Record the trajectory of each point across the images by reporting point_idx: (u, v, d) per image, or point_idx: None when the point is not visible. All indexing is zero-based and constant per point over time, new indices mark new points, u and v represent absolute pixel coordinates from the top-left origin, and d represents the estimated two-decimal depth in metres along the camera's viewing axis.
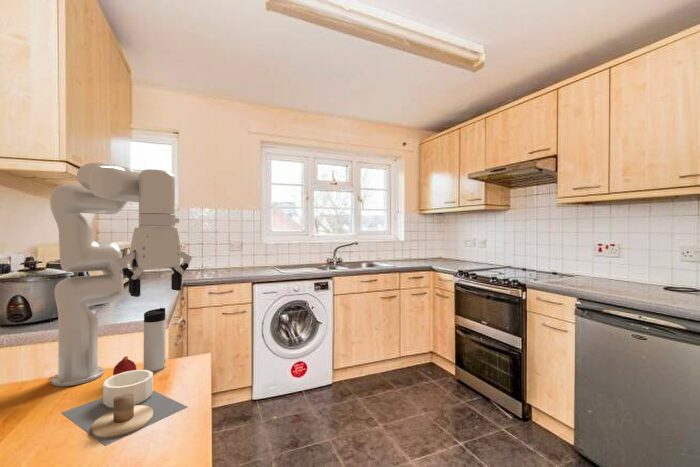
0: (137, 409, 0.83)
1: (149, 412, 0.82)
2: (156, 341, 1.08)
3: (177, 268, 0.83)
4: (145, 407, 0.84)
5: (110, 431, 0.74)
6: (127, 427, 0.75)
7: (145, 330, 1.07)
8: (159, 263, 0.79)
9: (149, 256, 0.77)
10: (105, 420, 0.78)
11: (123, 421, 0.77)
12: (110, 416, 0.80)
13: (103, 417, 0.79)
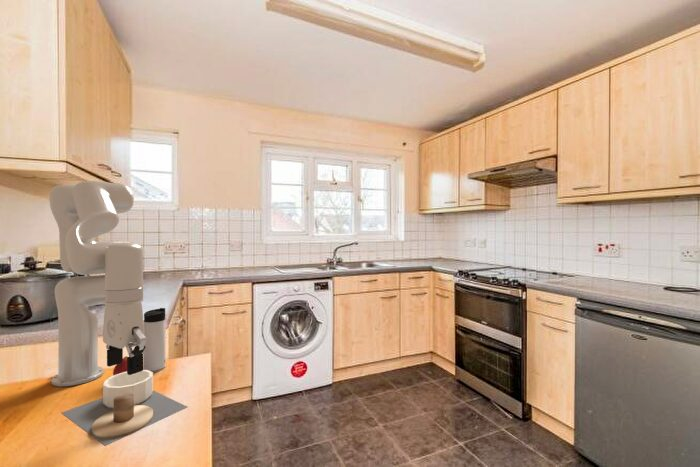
0: (137, 409, 0.83)
1: (149, 412, 0.82)
2: (156, 341, 1.08)
3: None
4: (145, 407, 0.84)
5: (110, 431, 0.74)
6: (127, 427, 0.75)
7: (145, 330, 1.07)
8: None
9: None
10: (105, 420, 0.78)
11: (123, 421, 0.77)
12: (110, 416, 0.80)
13: (103, 417, 0.79)
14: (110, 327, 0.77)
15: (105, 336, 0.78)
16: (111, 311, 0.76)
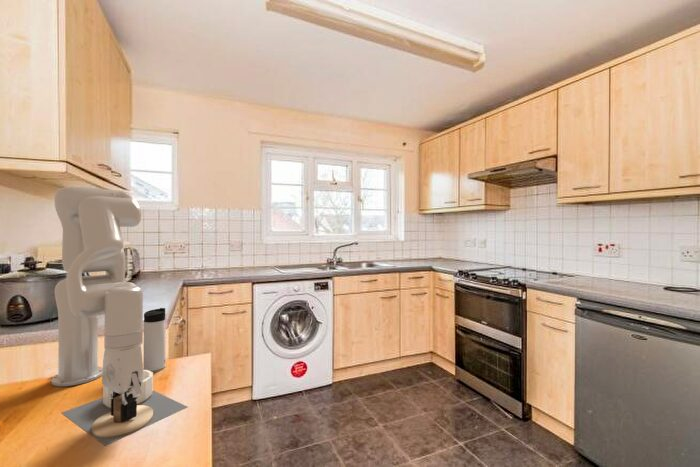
0: (137, 409, 0.83)
1: (149, 412, 0.82)
2: (156, 341, 1.08)
3: None
4: (145, 407, 0.84)
5: (110, 431, 0.74)
6: (127, 427, 0.75)
7: (145, 330, 1.07)
8: None
9: None
10: (105, 420, 0.78)
11: None
12: (110, 416, 0.80)
13: (103, 417, 0.79)
14: (109, 371, 0.77)
15: (104, 379, 0.78)
16: (110, 355, 0.77)
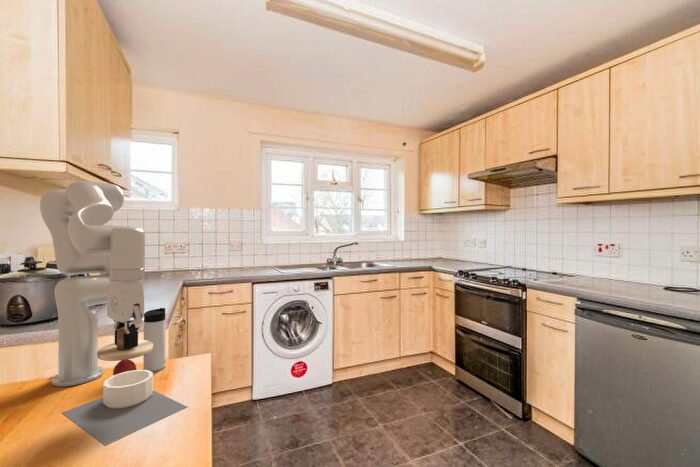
0: (138, 342, 0.90)
1: (149, 344, 0.89)
2: (156, 341, 1.08)
3: None
4: (146, 341, 0.91)
5: (113, 355, 0.81)
6: (129, 353, 0.82)
7: (145, 330, 1.07)
8: None
9: None
10: (109, 348, 0.85)
11: None
12: (114, 346, 0.87)
13: (107, 346, 0.86)
14: (114, 303, 0.84)
15: (109, 311, 0.85)
16: (114, 288, 0.83)
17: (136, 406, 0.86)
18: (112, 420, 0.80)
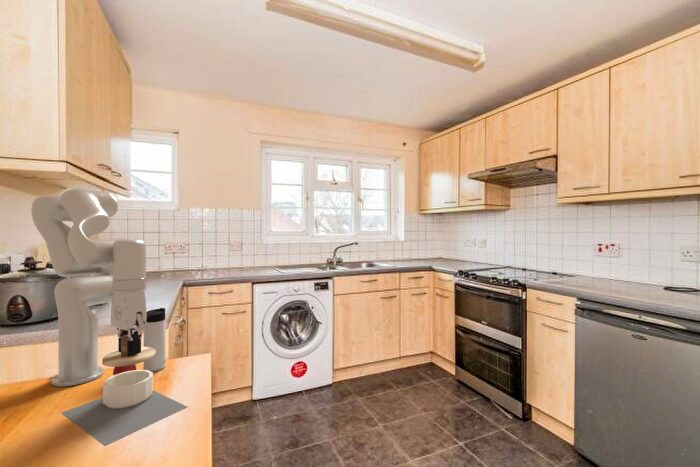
0: (141, 349, 0.94)
1: (152, 350, 0.93)
2: (156, 341, 1.08)
3: None
4: (148, 348, 0.95)
5: (118, 361, 0.85)
6: (133, 359, 0.87)
7: (145, 330, 1.07)
8: None
9: None
10: (114, 355, 0.89)
11: None
12: (118, 353, 0.91)
13: (112, 354, 0.91)
14: (117, 312, 0.88)
15: (113, 320, 0.89)
16: (118, 298, 0.88)
17: (136, 406, 0.86)
18: (112, 420, 0.80)
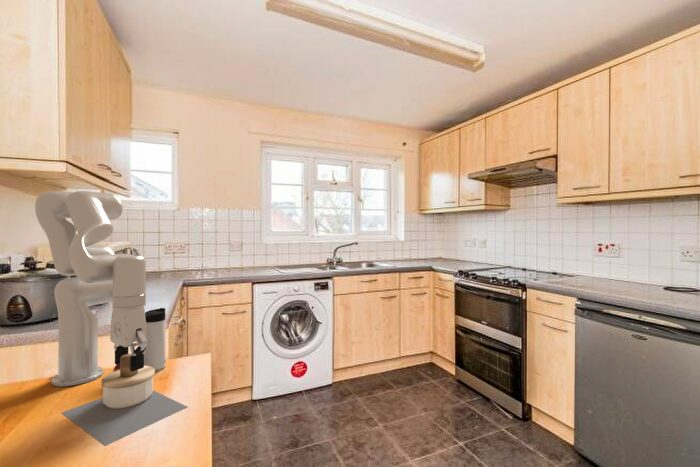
0: None
1: (151, 370, 0.93)
2: (156, 341, 1.08)
3: None
4: (148, 367, 0.95)
5: (117, 383, 0.85)
6: (132, 380, 0.87)
7: None
8: None
9: None
10: (113, 375, 0.89)
11: (128, 376, 0.89)
12: (117, 373, 0.91)
13: (111, 373, 0.91)
14: (117, 328, 0.88)
15: (112, 336, 0.90)
16: (117, 314, 0.88)
17: (136, 406, 0.86)
18: (112, 420, 0.80)
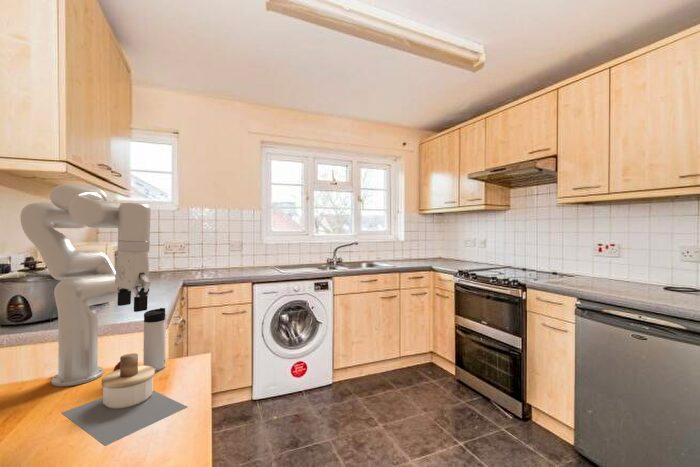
0: (140, 368, 0.94)
1: (151, 370, 0.93)
2: (156, 341, 1.08)
3: None
4: (148, 367, 0.95)
5: (117, 383, 0.85)
6: (132, 380, 0.87)
7: (145, 330, 1.07)
8: None
9: None
10: (113, 375, 0.89)
11: (128, 376, 0.89)
12: (117, 373, 0.91)
13: (111, 373, 0.91)
14: (121, 272, 0.91)
15: (117, 279, 0.93)
16: (122, 258, 0.91)
17: (136, 406, 0.86)
18: (112, 420, 0.80)
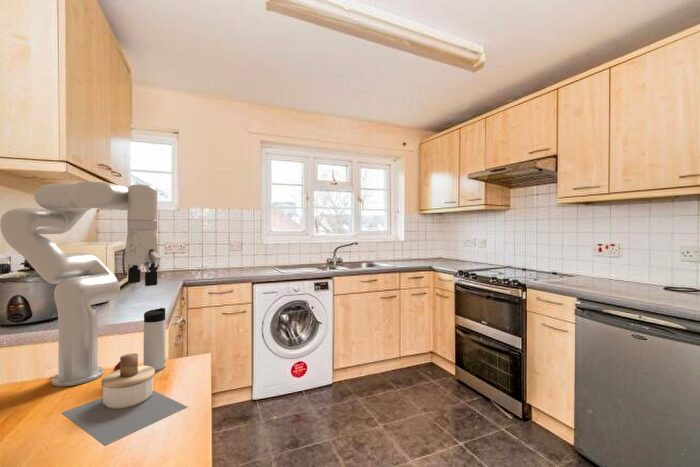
0: (140, 368, 0.94)
1: (151, 370, 0.93)
2: (156, 341, 1.08)
3: None
4: (148, 367, 0.95)
5: (117, 383, 0.85)
6: (132, 380, 0.87)
7: (145, 330, 1.07)
8: None
9: None
10: (113, 375, 0.89)
11: (128, 376, 0.89)
12: (117, 373, 0.91)
13: (111, 373, 0.91)
14: (131, 249, 0.97)
15: (127, 257, 0.98)
16: (132, 237, 0.97)
17: (136, 406, 0.86)
18: (112, 420, 0.80)
